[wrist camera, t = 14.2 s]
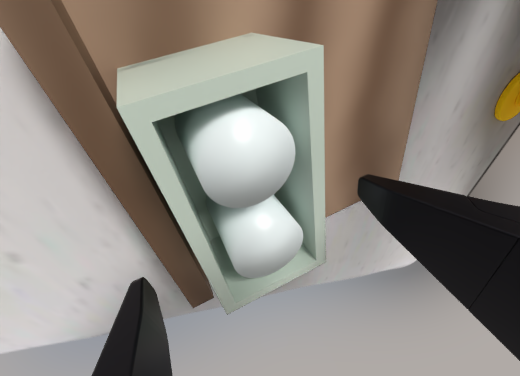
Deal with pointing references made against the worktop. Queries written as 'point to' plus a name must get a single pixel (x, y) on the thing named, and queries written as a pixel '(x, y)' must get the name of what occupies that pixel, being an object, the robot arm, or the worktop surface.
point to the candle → (509, 101)
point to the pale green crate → (237, 155)
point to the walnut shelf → (210, 31)
